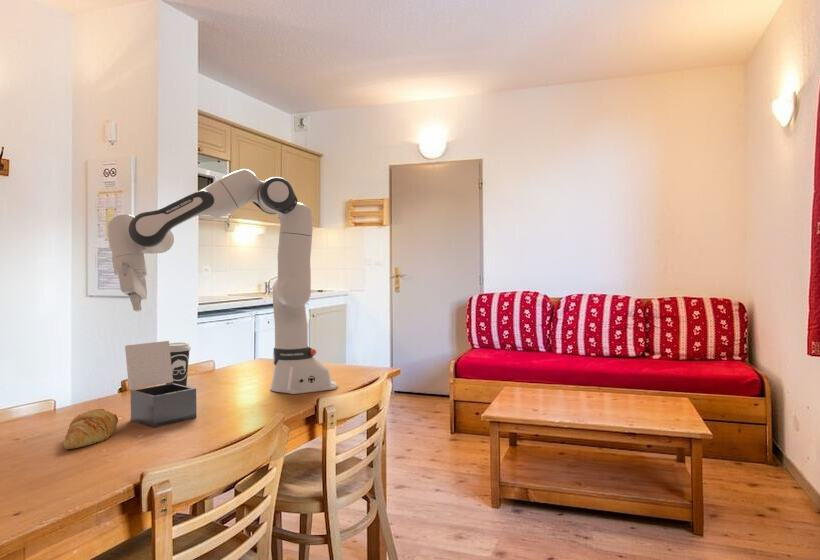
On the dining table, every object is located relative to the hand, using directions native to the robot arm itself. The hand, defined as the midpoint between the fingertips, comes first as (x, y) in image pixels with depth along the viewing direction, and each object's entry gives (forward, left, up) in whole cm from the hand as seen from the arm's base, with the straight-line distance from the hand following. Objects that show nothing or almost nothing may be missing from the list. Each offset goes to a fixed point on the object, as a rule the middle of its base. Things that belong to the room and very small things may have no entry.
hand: (137, 310), depth 161 cm
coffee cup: (-9, -22, -29) cm, 37 cm away
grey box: (-10, +21, -28) cm, 37 cm away
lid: (-6, +15, -14) cm, 22 cm away
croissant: (+5, +34, -29) cm, 45 cm away
